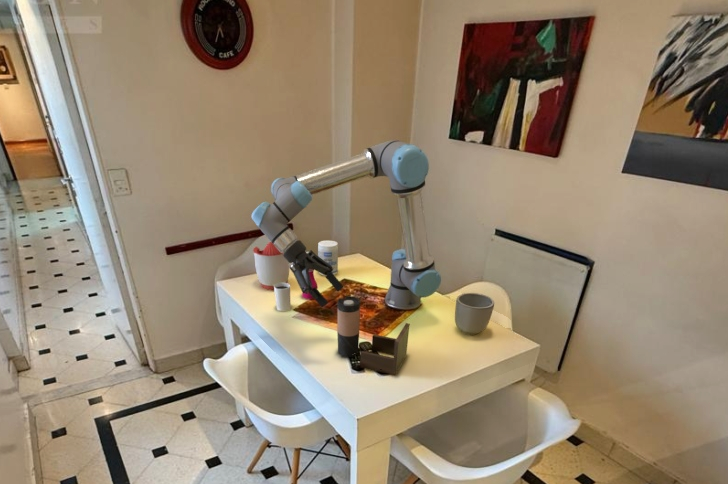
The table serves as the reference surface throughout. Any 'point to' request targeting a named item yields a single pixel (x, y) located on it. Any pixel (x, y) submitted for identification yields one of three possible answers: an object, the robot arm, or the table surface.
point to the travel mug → (348, 326)
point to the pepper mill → (314, 283)
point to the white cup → (282, 296)
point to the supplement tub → (329, 254)
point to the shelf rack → (386, 346)
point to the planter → (473, 312)
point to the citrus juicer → (271, 266)
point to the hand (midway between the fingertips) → (333, 296)
